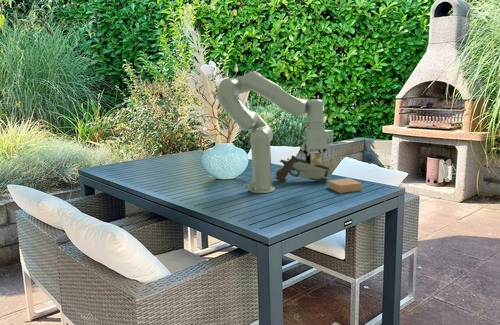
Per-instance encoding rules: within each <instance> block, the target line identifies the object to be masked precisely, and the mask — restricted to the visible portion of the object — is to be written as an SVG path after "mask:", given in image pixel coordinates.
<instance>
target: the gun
mask: <svg viewBox="0 0 500 325" xmlns="http://www.w3.org/2000/svg"><path fill="white" fill-rule="evenodd" d="M279 162H280V163H281V164H283V167H281V168H279V169H278V170H277V171H276V173H275V175H274V180H277V181H280V182H283V183H285V182H287V178H286V177H287V176H288V174H290V176H292V177H296V178H298V177H299V178H304V179H306V180H312V181H315V182H319V183H321V184H322V183H324V182H328V179H329V177H330V176H329V175H330V173H331V168H330V167H329V166H326V165H323V164H322V165H312V166H311V165H309V164H307V163H306V159H303V158H299V157H297V156H296V155H291V158H288V157H287V160H285V159H280V160H279ZM295 171H296V172H297V173H295Z"/></svg>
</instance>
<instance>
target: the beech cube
mask: <svg viewBox="0 0 500 325" xmlns="http://www.w3.org/2000/svg"><path fill="white" fill-rule="evenodd" d="M307 164H308V163H307ZM309 165H311V166H312V165H323V160H322V153H319V151H310V164H309Z"/></svg>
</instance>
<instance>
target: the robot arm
mask: <svg viewBox="0 0 500 325" xmlns="http://www.w3.org/2000/svg"><path fill="white" fill-rule="evenodd" d="M248 92H254V93H255V94H257V95H258V96H260V97H262V98H264V99H266V100H268V101H269V102H270V103H272V104H275V105H276V106H277V107H279V108H280V109H282V110H284V111H286V112H288V113H289V114H290V115H293V116H296V117H300V116H302V115H305V114H306V123H304V124H303V127H306V128H305V129H304V136H303V143H302V144H301V146H299V150H300V151H301V152H302V153H303V154H305V160H306V163H308V164H310V152H312V151H314V150H317V152H319V153H322V161H323V156H324V154H325V153H326V151H327V150H328V149H329V148H330V146H329V145H328V143H327V138H326V131H325V128H323V126H324V123H323V122H324V101H323V100H322V99H319V98H317V99H316V98H314V99H305V98H304V99H303V98H297V97H296V96H293V95H291V94H290V93H288V92H286V91H285V90H284V89H283V88H282V87H281V86H280V85H279V84H277V83H275V82H274V81H272V80H270V79H268V78H267V77H264V76H263V75H262V74H261V73H260V72H258V71H257V72H256V71H249V72H247V73H246V74H244V75H239V76H236V77H227V78H223V80H221V81H220V83H219V85H218V87H217V92H216V93H217V95H216V96H217V100H218V102H219V104H220V106H221V107H222V108H223V110H224V111H225V112H226V113H227V114H228V115H229V117H230V118H232V120H233V121H234V122H235V123H236V125H237V126H238V127H239V128H240V129H241V130H243V131H248V132H249V133H250V141H249V142H250V148H251V149H250V150H251V170H252V172H251V173H252V181H250V182H249V183H243V189H249V191H250V192H251V193H254V194H255V193H256V194H267V193H272V192H275V191H276V187H275V186H274V185H272V184H273V182H272V181H273V178H272V150H271V141H272V140H273V138H274V137H273V136H274V133H273V130H272V129H271V127H270V126H269V125H268V124H267V123H266V122H265V120H264V119H263V118H262V117H261V116H260V115H259V114H258V113H257V112H256V111H255V110H252V109H251V110H250V109H248V108H247V107H246V106H245V105H244V104H243V103H242V102H241V100H240V99H238V97H237V95H241V94H244V93H248Z"/></svg>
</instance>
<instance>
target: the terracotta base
mask: <svg viewBox="0 0 500 325" xmlns="http://www.w3.org/2000/svg"><path fill="white" fill-rule="evenodd" d="M362 186H363V183H362V182H359V181H357V180H354V179H352V178H349V177H348V178H340V179H330V180H327V188H328V189H330V190H332V191H335V192H337V193H338V194H343V193H351V192H361V191H363V189H362V188H363V187H362Z"/></svg>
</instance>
